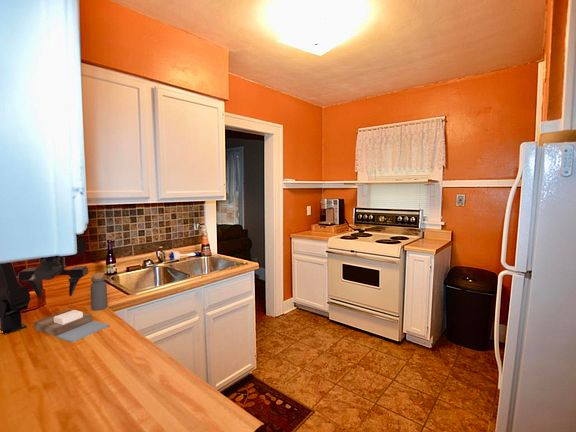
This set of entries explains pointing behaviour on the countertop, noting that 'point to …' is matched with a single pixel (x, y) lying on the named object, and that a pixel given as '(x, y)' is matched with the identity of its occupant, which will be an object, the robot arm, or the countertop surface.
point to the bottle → (98, 291)
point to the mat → (82, 331)
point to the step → (57, 329)
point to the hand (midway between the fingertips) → (55, 296)
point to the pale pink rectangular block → (68, 317)
